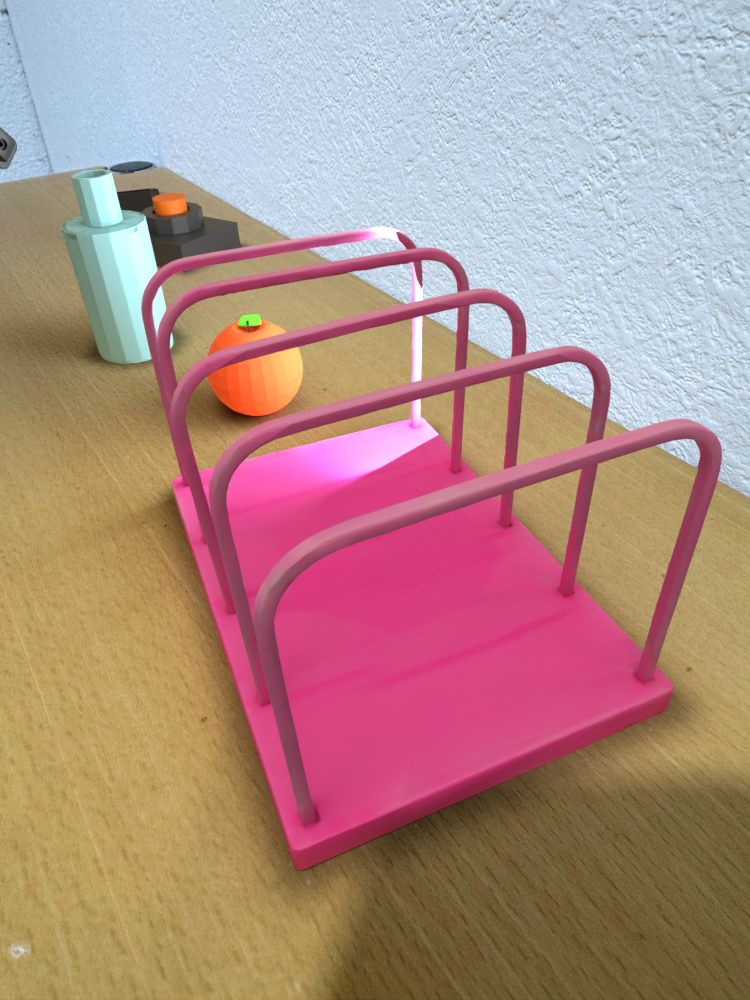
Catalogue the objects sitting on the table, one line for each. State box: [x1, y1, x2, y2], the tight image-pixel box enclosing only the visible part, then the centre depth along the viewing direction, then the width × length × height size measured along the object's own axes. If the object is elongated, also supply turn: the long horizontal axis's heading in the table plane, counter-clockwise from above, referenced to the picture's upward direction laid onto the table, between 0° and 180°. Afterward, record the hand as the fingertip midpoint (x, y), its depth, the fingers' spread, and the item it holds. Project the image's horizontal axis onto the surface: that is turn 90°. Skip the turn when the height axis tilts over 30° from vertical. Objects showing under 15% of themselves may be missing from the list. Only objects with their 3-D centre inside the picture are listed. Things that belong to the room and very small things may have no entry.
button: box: [152, 192, 188, 216], centre depth 78 cm, size 4×4×2 cm
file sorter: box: [141, 226, 723, 871], centre depth 33 cm, size 17×25×16 cm
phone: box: [116, 187, 161, 213], centre depth 94 cm, size 8×1×15 cm
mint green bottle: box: [61, 168, 175, 365], centre depth 57 cm, size 6×6×14 cm
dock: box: [141, 201, 242, 273], centre depth 80 cm, size 11×9×5 cm
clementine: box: [207, 313, 304, 417], centre depth 51 cm, size 8×7×7 cm
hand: (4, 156), depth 47 cm, fingers closed
